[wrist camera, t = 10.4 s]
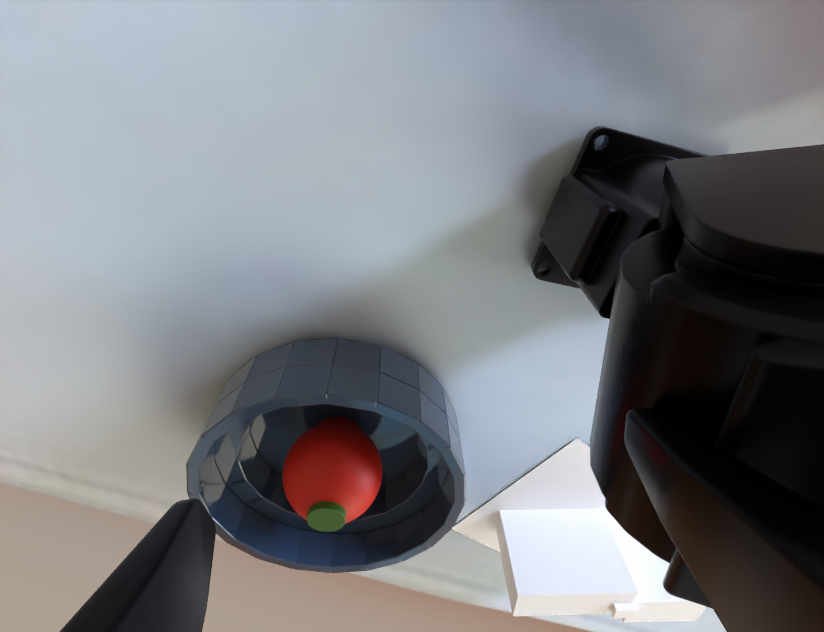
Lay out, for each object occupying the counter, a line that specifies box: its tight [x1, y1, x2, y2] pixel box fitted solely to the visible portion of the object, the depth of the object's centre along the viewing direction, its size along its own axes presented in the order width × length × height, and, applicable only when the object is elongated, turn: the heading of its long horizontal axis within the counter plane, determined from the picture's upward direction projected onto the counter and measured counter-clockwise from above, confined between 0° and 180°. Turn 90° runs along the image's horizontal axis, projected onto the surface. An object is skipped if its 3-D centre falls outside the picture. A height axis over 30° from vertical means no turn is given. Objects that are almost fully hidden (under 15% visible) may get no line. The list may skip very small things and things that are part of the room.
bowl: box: [186, 338, 466, 573], centre depth 23 cm, size 13×13×4 cm
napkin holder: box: [452, 439, 706, 622], centre depth 28 cm, size 15×11×6 cm
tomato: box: [282, 417, 382, 532], centre depth 23 cm, size 5×5×5 cm
